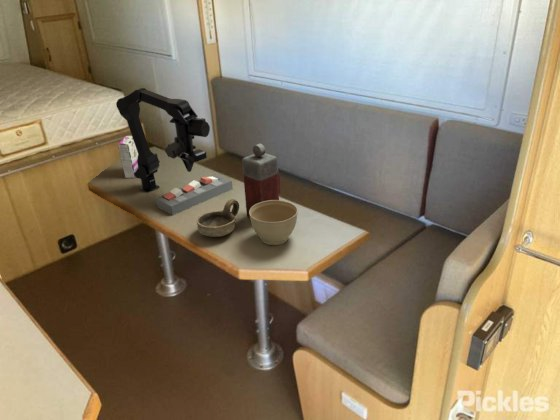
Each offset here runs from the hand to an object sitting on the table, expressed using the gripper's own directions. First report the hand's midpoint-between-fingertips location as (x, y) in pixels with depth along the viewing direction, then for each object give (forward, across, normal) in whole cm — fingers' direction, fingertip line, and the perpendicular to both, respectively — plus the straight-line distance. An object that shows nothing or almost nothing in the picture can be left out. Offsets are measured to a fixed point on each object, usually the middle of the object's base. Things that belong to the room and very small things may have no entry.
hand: (189, 171), depth 189 cm
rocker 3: (+7, 0, +9) cm, 12 cm away
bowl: (+11, +31, -10) cm, 35 cm away
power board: (+11, +2, 0) cm, 11 cm away
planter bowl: (+11, +49, -2) cm, 50 cm away
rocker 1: (+7, 0, -9) cm, 12 cm away
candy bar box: (+11, -41, -3) cm, 43 cm away
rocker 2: (+7, 0, 0) cm, 7 cm away
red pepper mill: (+11, +34, +8) cm, 37 cm away
